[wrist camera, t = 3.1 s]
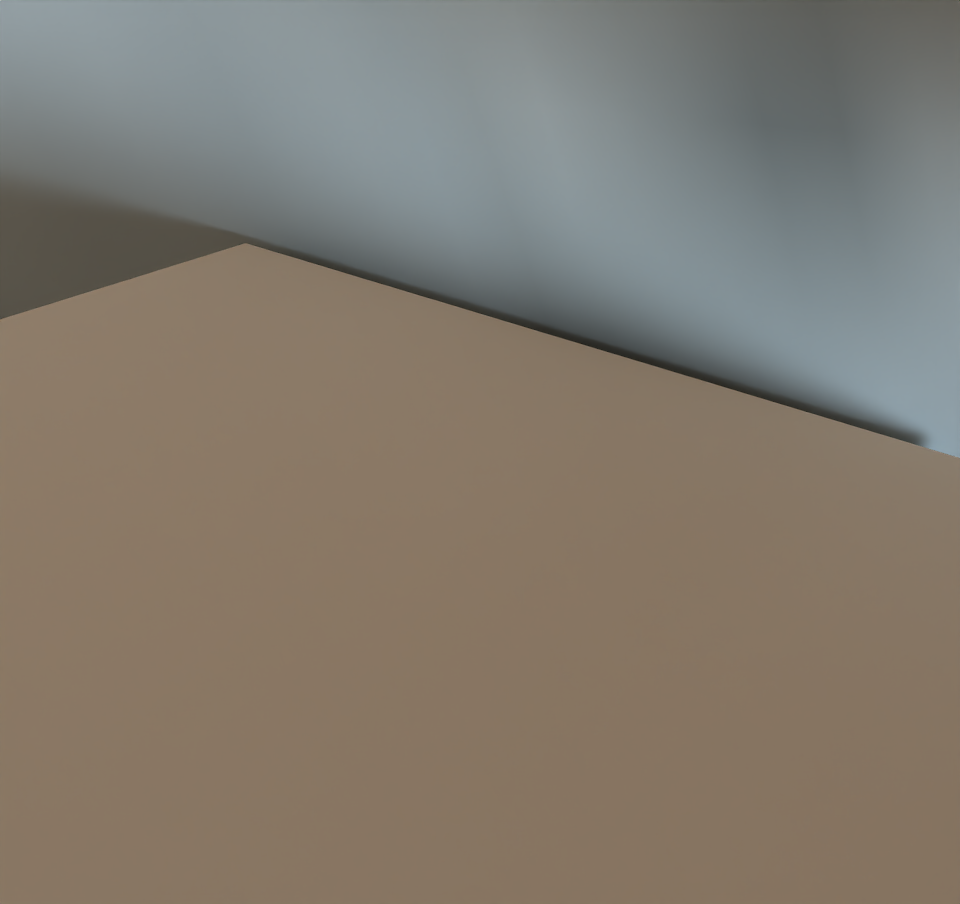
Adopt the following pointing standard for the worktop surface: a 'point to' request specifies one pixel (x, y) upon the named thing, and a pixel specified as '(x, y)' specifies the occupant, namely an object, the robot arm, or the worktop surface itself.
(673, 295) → the worktop surface
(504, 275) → the worktop surface
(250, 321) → the beige cardboard box
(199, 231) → the worktop surface
